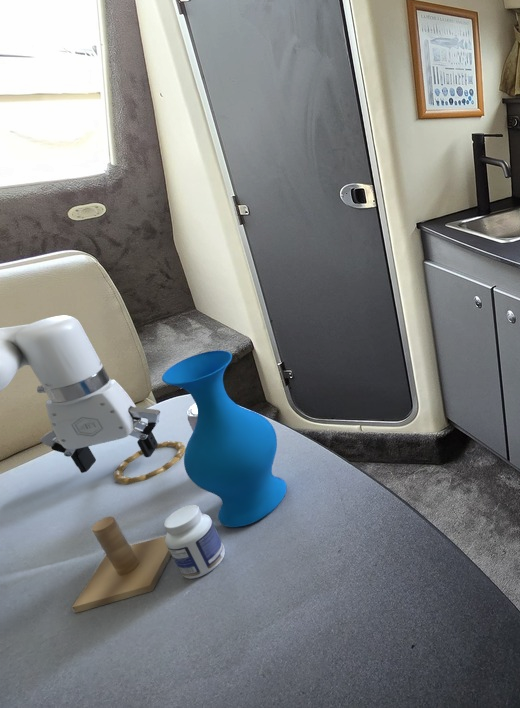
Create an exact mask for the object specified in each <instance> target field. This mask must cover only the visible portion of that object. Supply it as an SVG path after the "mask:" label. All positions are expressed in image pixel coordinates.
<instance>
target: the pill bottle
mask: <svg viewBox="0 0 520 708" xmlns="http://www.w3.org/2000/svg"><path fill="white" fill-rule="evenodd" d="M163 525H164V529H165V530H166V531H165V532H166V535H165V536H166V538H165V543H166V546H167V547H168V549H169V551H170V553H171V557H172V559H173V560H174V562H175V564H176V566H177V568H178V569H179V571H180V573H181V576H183V577H184V578H186V579H190V580H191V579H197V578H201V577H203V576H204V575H207V574H209V573H210V572H211V571H213V570H214V569H216V568H217V567H218V566H219V565H220V564H221V563H222V561H223V560H224V558H225V555H226V548H225V546H224V544H223V541H222V540H221V536H220V535H219V533H218V531H217V529H216V526H215V524H214V522H213V520H212V518H211V517H210V516H209V514H206V513H202V511H201V509H200V508H199V506H198V505H196V504H189V505H184V506H182V507H179V508H178V509H176V510H175V511H173V512H172V513H170V514H169V515H168V516H167V517H166V519H165V520H164V524H163Z"/></svg>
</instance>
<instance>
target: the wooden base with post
mask: <svg viewBox="0 0 520 708" xmlns="http://www.w3.org/2000/svg"><path fill="white" fill-rule="evenodd" d="M91 532H92V533H93V535H94V537H95V538H96V540H97V541H98V543H99V545H100V547H101V548H102V550H103V551H104V553H105V556H104V557H103V559H102V561H101V562H100V564H99V565H98V566H97V568H96V570H95V571H94V573H92V576H91V577H90V579H89V580H88V582H87V584H86V585H85V587H84V588H83V590H82V591H81V593H80V594H79V596H78V598H76V600H75V601H74V604H73V605H72V606H71V608H72V610H73V612H74V613H75V614H78V613H81V612H85V611H87V610H91V609H95V608H97V607H101V606H105V605H108V604H112V603H115V602H118V601H122V600H125V599H129V598H133V597H136V596H139V595H143V594H146V593H150V592H153V591H154V590H155V588H156V586H157V584H158V583H159V580H160V578H161V576H162V574H163V573H164V570H165V569H166V566H167V564H168V562H169V561H170V559H171V557H172V555H171V553H170V551H169V549H168V547H167V546H166V543H165V538H166V535H165V536H161V537H158V538H154V539H149V540H146V541H141V542H138V543H134V544H131V545H130V543H129V541H128V539H127V538H126V536H125V533H124V532H123V530H122V529H121V527H120V525H119V524H118V522H117V520H116V518H115V517H114V516H107V517H103V518H102V519H100V520H98V521H97V522H95V523H94V524H93V525H92V527H91Z"/></svg>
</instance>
